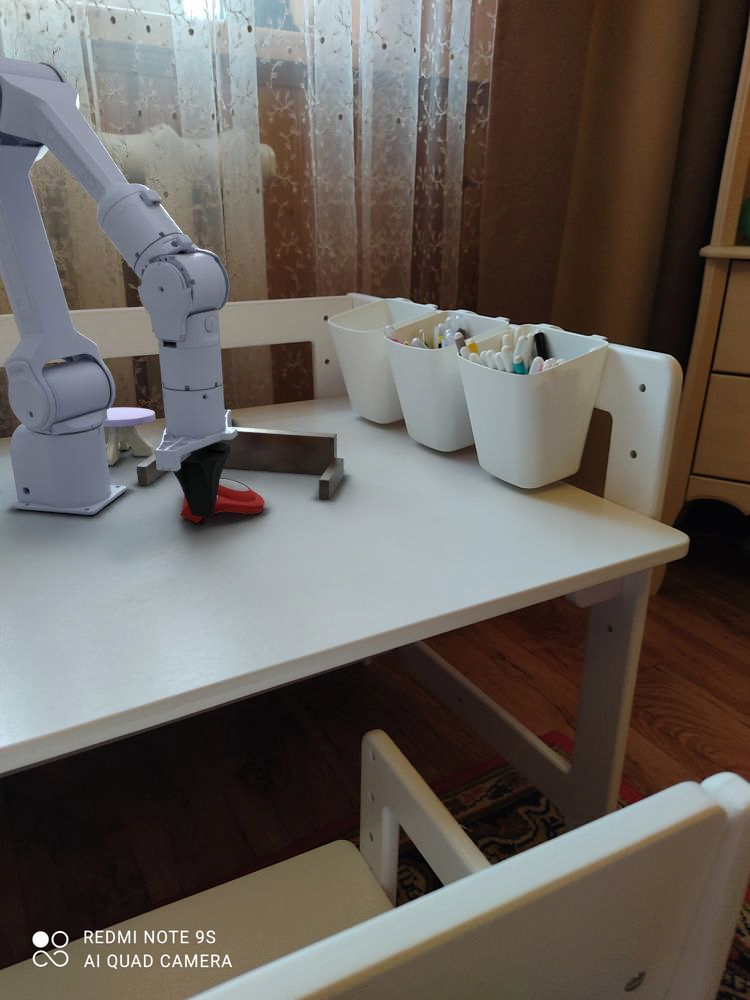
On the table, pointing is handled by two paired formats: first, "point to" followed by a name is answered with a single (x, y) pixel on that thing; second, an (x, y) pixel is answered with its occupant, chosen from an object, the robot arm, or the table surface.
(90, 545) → the table surface
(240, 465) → the footed wooden plank
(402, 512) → the table surface
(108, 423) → the toy table
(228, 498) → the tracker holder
